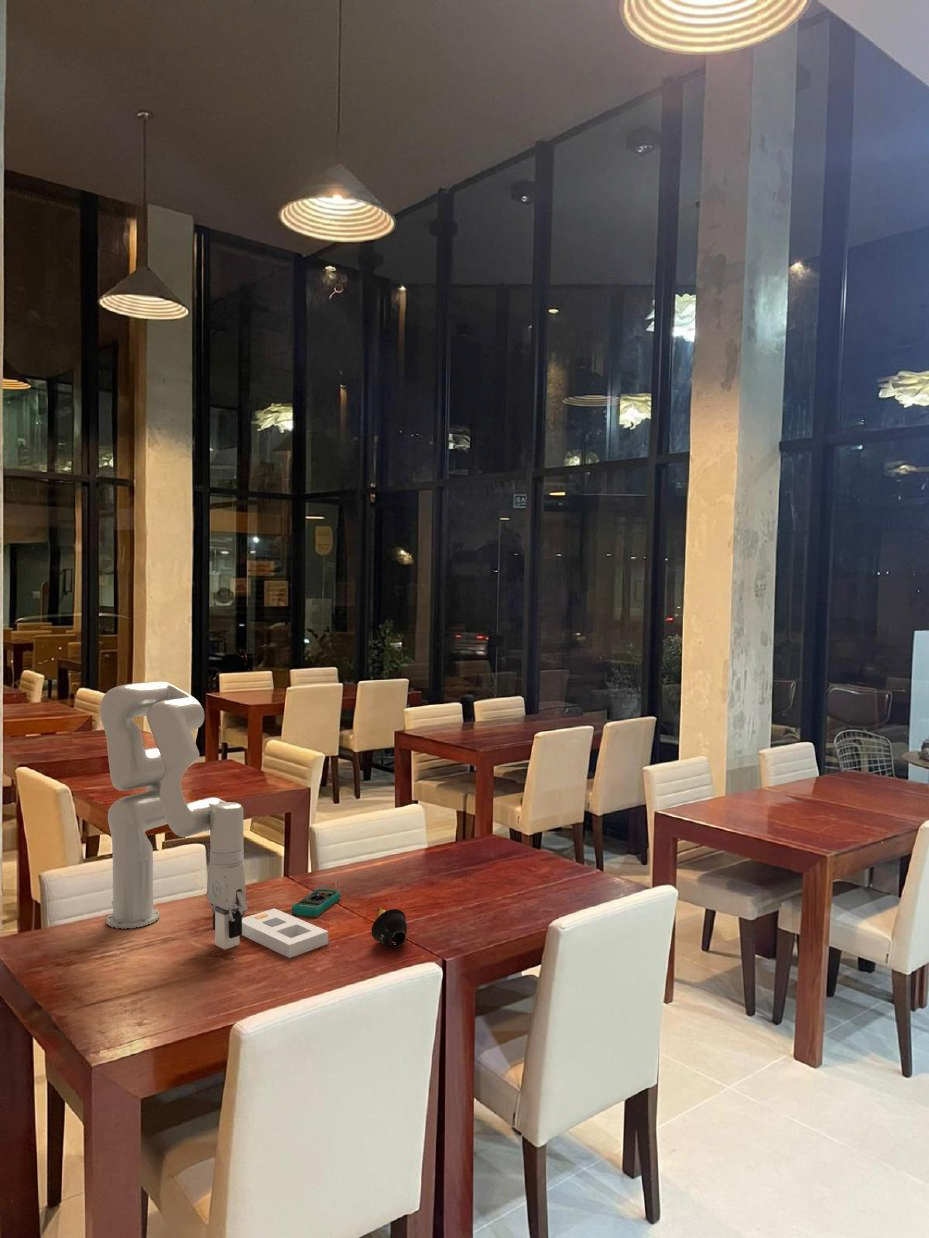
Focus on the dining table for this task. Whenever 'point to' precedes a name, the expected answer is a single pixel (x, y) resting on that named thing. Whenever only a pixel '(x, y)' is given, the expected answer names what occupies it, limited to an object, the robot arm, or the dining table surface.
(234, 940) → the plug
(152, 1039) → the dining table surface
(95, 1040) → the dining table surface
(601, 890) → the dining table surface
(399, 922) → the fried shrimp in bowl
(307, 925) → the power strip
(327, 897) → the digital multimeter
